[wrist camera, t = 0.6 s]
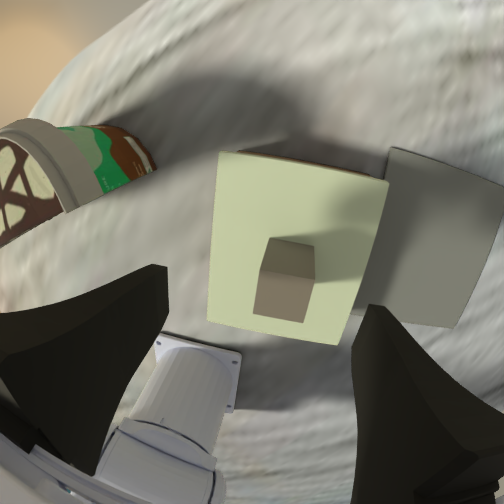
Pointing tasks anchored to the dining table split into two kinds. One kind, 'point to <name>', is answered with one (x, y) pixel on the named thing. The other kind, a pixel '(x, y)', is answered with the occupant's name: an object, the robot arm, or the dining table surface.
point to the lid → (289, 245)
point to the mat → (429, 241)
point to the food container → (61, 170)
